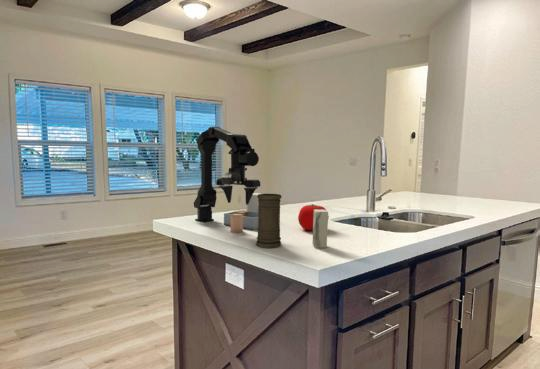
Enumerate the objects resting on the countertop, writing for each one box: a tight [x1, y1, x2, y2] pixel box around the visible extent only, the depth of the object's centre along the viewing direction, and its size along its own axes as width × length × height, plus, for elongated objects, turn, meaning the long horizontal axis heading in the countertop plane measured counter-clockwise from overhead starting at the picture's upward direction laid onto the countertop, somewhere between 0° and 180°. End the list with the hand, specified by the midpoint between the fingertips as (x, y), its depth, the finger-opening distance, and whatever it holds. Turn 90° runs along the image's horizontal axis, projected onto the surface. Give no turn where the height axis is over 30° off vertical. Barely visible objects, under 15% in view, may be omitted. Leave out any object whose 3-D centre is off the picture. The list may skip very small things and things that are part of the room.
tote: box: [223, 209, 258, 231], centre depth 169 cm, size 17×13×5 cm
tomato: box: [297, 203, 330, 232], centre depth 161 cm, size 12×13×11 cm
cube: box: [233, 209, 249, 217], centre depth 171 cm, size 5×5×5 cm
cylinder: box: [230, 214, 244, 234], centre depth 155 cm, size 5×5×7 cm
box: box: [311, 209, 329, 249], centre depth 133 cm, size 5×4×13 cm
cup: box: [245, 192, 262, 212], centre depth 185 cm, size 8×8×12 cm
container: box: [255, 193, 282, 249], centre depth 134 cm, size 9×9×18 cm
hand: (238, 203), depth 155 cm, fingers open, 9 cm apart
